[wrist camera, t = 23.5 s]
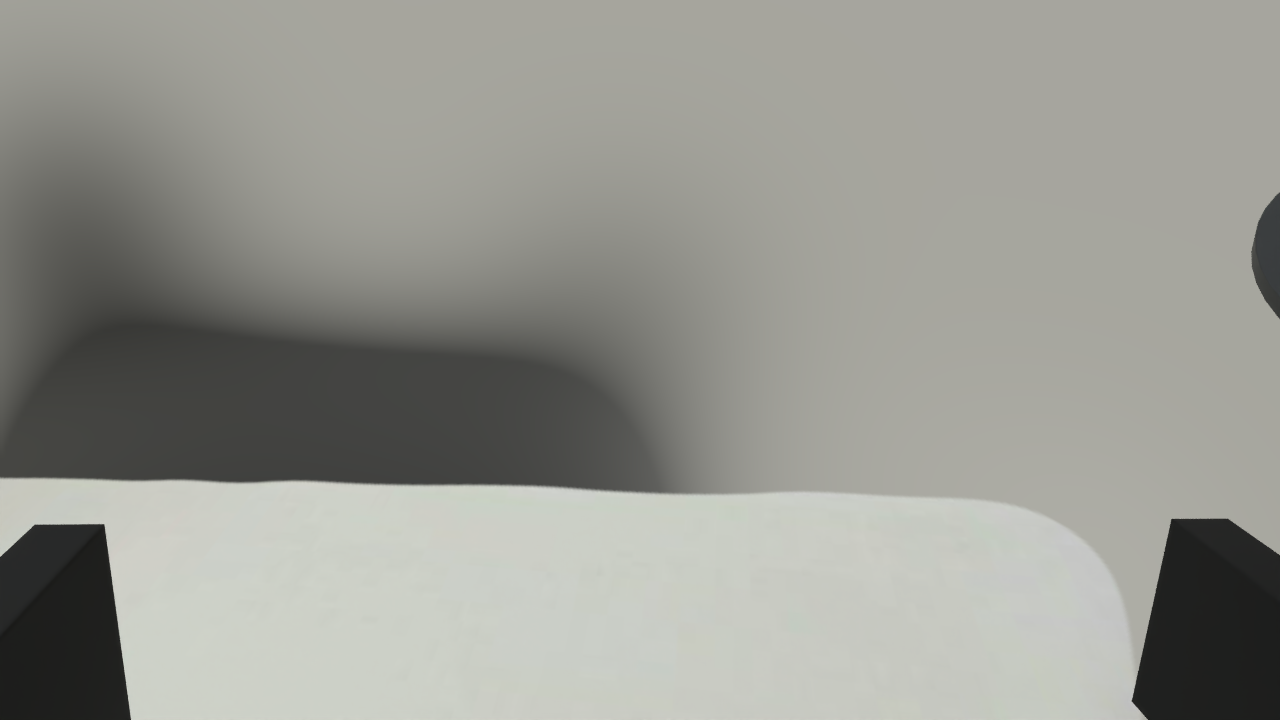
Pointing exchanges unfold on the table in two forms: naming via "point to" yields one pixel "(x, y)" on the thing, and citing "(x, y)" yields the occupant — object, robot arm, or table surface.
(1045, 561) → the table surface
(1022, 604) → the table surface
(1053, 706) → the table surface
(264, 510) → the table surface
